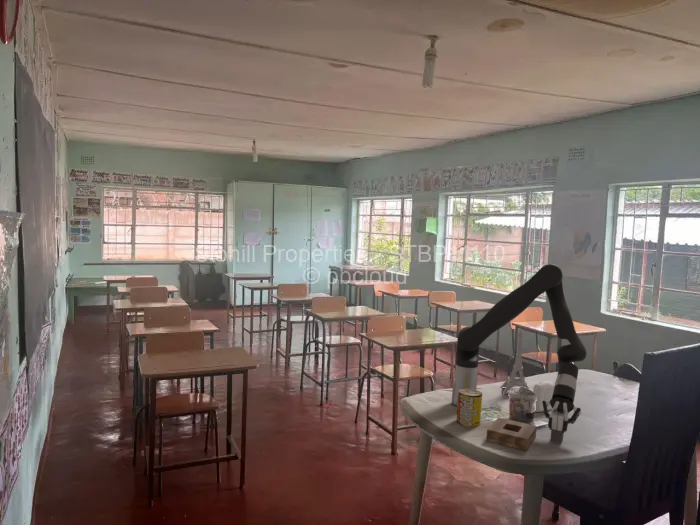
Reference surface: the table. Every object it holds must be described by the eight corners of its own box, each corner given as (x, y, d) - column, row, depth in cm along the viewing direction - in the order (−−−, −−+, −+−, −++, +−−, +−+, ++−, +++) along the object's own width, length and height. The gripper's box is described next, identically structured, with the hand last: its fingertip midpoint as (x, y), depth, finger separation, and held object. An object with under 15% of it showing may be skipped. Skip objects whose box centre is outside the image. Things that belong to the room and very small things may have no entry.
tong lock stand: (486, 440, 187) (487, 429, 186) (497, 428, 200) (498, 417, 199) (526, 451, 180) (527, 439, 179) (535, 437, 193) (536, 426, 192)
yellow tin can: (454, 417, 209) (456, 388, 208) (477, 419, 208) (479, 389, 207) (458, 426, 200) (460, 395, 199) (482, 427, 199) (484, 396, 199)
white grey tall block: (550, 441, 190) (552, 411, 189) (552, 437, 193) (554, 408, 192) (561, 443, 188) (563, 413, 187) (563, 440, 191) (565, 410, 190)
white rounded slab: (545, 406, 228) (547, 378, 227) (553, 409, 225) (556, 381, 224) (530, 410, 222) (532, 381, 222) (538, 413, 219) (541, 384, 218)
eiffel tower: (529, 389, 252) (534, 328, 249) (532, 398, 239) (537, 333, 236) (500, 386, 254) (505, 325, 252) (502, 394, 242) (507, 330, 239)
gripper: (544, 380, 199) (535, 420, 189) (584, 387, 192) (577, 430, 182) (545, 390, 204) (537, 430, 194) (585, 398, 197) (578, 440, 187)
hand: (556, 430), depth 188 cm, fingers closed on white grey tall block, 3 cm apart
